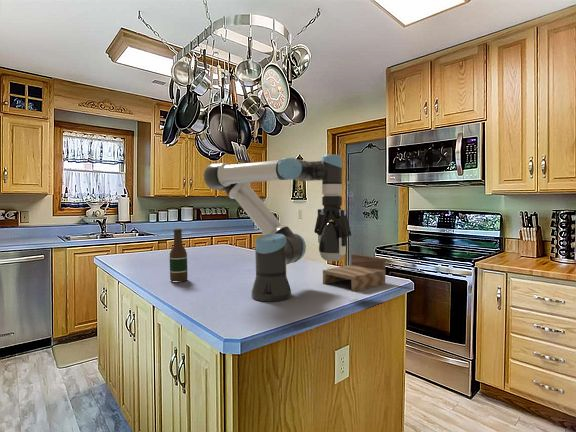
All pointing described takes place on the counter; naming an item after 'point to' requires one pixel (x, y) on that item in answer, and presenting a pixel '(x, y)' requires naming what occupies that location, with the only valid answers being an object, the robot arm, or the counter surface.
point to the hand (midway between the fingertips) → (331, 253)
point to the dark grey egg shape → (330, 242)
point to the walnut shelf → (358, 272)
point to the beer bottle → (178, 259)
